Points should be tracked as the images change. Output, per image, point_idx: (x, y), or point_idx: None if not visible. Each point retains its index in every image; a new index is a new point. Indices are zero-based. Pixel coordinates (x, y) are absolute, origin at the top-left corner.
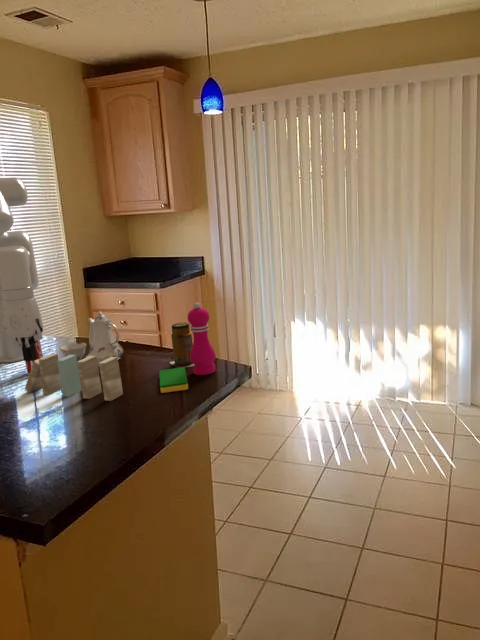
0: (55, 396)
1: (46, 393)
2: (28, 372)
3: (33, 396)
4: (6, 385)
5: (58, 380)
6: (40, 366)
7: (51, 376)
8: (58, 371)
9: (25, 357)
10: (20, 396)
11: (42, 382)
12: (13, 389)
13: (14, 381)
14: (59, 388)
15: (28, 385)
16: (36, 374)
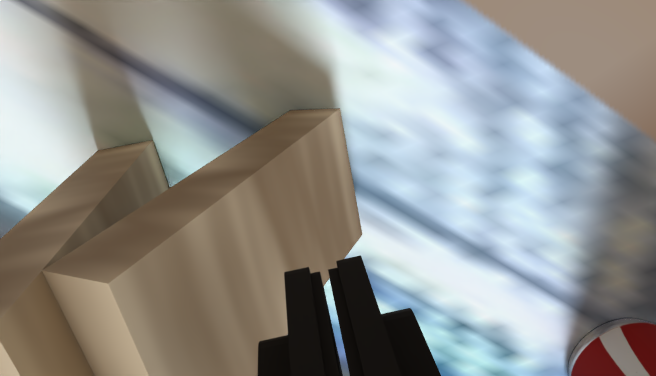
0: (13, 155)
1: (115, 149)
2: (641, 325)
3: (188, 79)
4: (633, 134)
5: None
6: (33, 264)
7: None
8: None
9: (333, 293)
10: (296, 31)
11: (109, 178)
12: (502, 105)
13: (637, 207)
14: None
15: (291, 128)
16: (160, 200)
